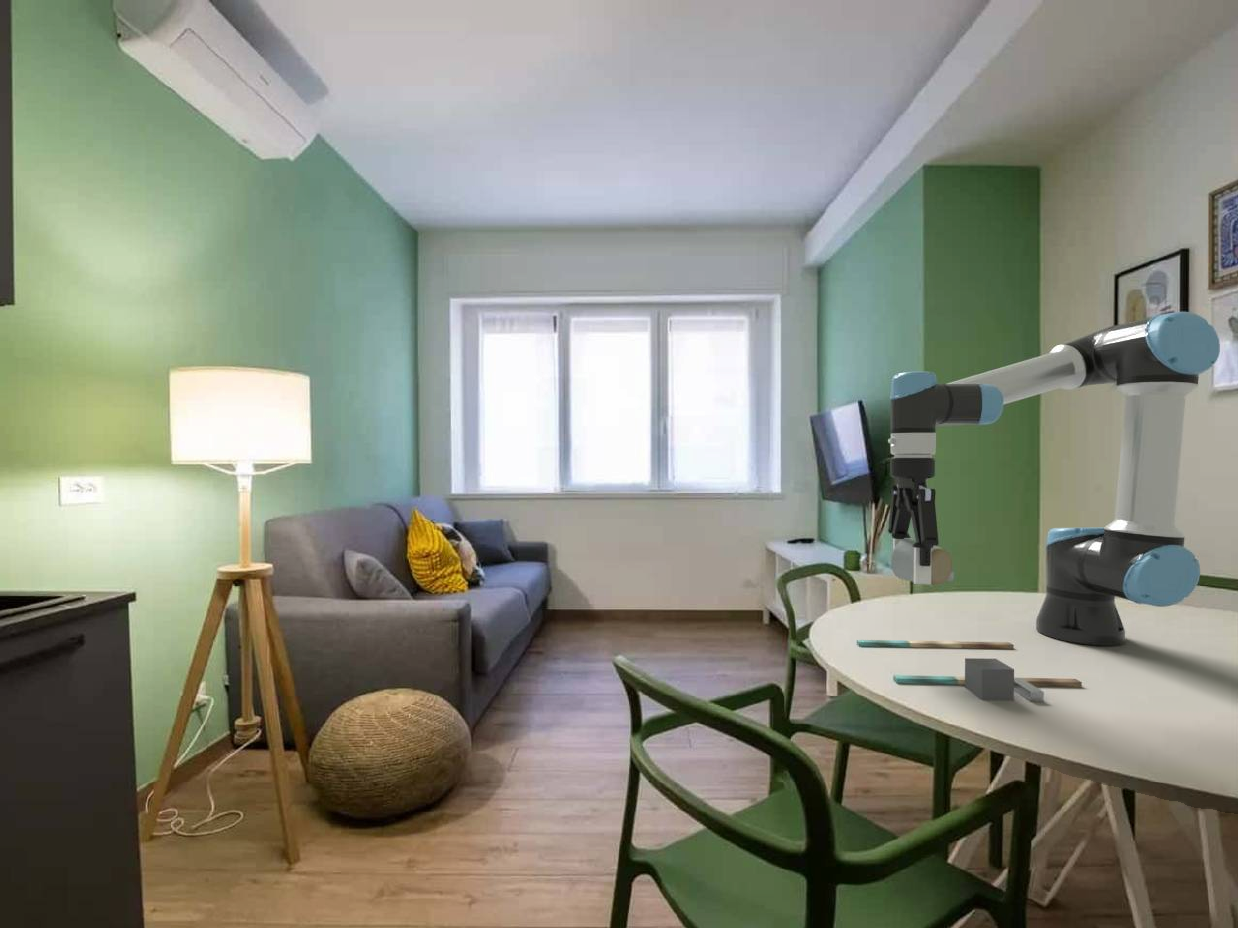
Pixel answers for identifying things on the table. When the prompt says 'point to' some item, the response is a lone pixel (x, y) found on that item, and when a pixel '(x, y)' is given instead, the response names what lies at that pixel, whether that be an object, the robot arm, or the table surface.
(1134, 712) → the table surface
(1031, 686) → the bar
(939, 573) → the ceramic mug
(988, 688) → the block
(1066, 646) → the table surface
